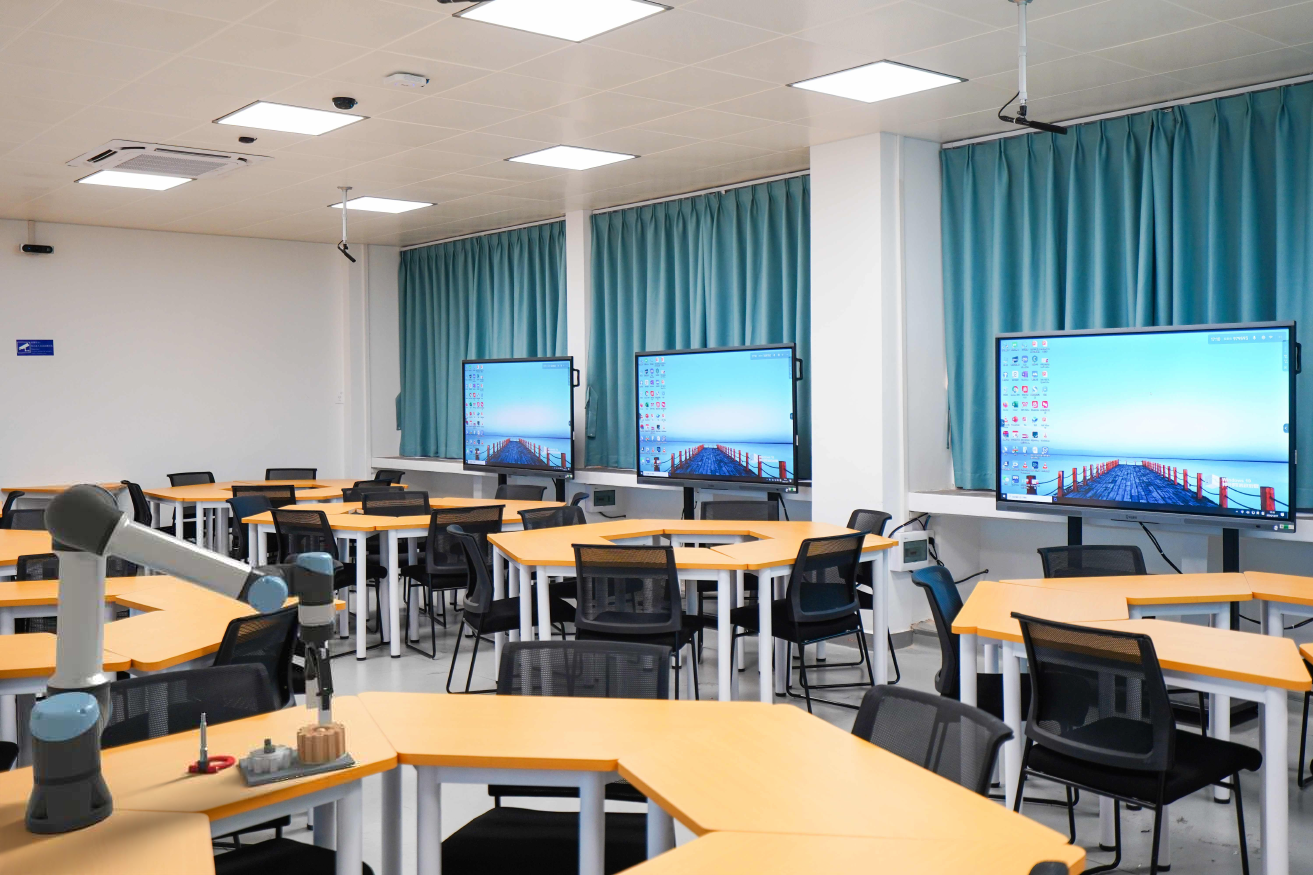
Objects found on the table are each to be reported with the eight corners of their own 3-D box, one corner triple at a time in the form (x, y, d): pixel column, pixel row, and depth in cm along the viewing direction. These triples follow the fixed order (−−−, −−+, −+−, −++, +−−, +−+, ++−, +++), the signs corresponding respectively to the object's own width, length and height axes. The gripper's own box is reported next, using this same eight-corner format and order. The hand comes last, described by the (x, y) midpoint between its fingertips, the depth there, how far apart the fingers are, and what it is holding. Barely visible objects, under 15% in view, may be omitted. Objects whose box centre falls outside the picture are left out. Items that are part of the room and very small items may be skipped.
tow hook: (208, 759, 238) (184, 772, 229) (207, 703, 238) (183, 713, 229) (242, 761, 237) (219, 774, 228) (241, 704, 237) (218, 714, 228)
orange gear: (350, 757, 233) (349, 730, 232) (302, 766, 228) (301, 739, 227) (340, 744, 242) (339, 718, 241) (294, 752, 237) (293, 726, 236)
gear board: (249, 786, 220) (247, 752, 219) (238, 763, 234) (237, 731, 233) (355, 765, 230) (353, 733, 230) (339, 745, 244) (337, 714, 244)
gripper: (346, 630, 224) (348, 728, 225) (322, 610, 246) (324, 699, 247) (310, 634, 221) (312, 733, 221) (289, 613, 242) (291, 704, 243)
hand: (318, 715), depth 234 cm, fingers open, 13 cm apart
